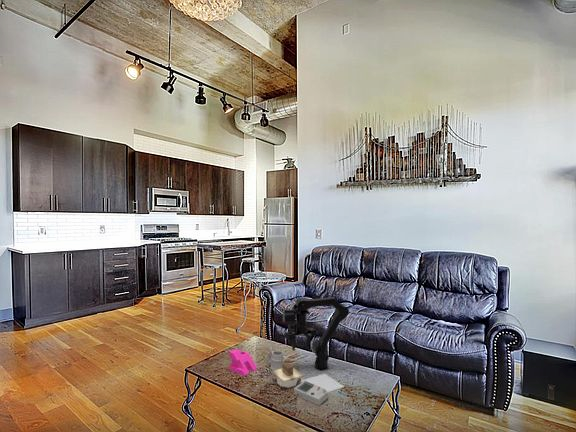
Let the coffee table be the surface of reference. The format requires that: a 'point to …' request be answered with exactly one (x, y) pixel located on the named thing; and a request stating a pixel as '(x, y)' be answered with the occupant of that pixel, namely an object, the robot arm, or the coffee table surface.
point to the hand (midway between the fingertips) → (300, 348)
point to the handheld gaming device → (311, 392)
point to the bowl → (287, 383)
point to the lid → (287, 373)
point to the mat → (324, 382)
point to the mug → (275, 359)
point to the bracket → (241, 362)
